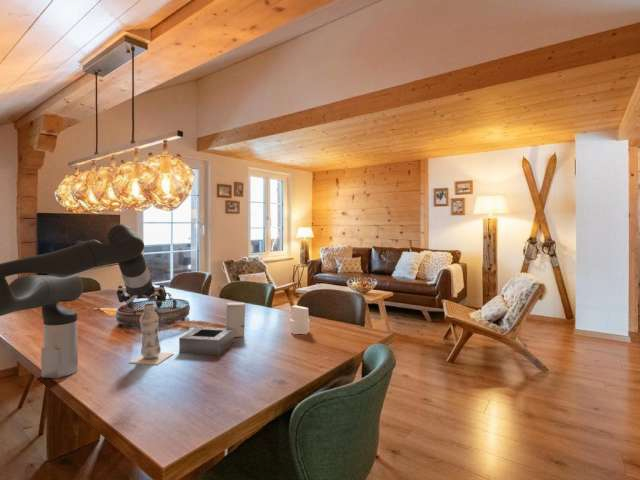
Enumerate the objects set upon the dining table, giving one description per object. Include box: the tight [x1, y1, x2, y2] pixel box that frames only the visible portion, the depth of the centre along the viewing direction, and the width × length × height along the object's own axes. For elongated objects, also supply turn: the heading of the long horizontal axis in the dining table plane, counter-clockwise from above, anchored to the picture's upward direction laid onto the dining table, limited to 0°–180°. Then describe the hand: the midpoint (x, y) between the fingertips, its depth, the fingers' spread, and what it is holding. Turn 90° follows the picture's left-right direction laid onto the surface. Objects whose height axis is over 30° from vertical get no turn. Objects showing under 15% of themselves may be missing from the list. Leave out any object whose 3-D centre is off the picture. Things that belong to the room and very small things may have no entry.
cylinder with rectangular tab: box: [289, 304, 310, 335], centre depth 173 cm, size 9×9×12 cm
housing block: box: [178, 326, 235, 357], centre depth 150 cm, size 16×16×6 cm
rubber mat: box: [128, 352, 175, 366], centre depth 137 cm, size 11×11×1 cm
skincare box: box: [225, 301, 246, 338], centre depth 167 cm, size 8×6×15 cm
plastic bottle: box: [139, 303, 162, 359], centre depth 136 cm, size 6×7×20 cm
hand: (145, 306), depth 125 cm, fingers open, 8 cm apart
